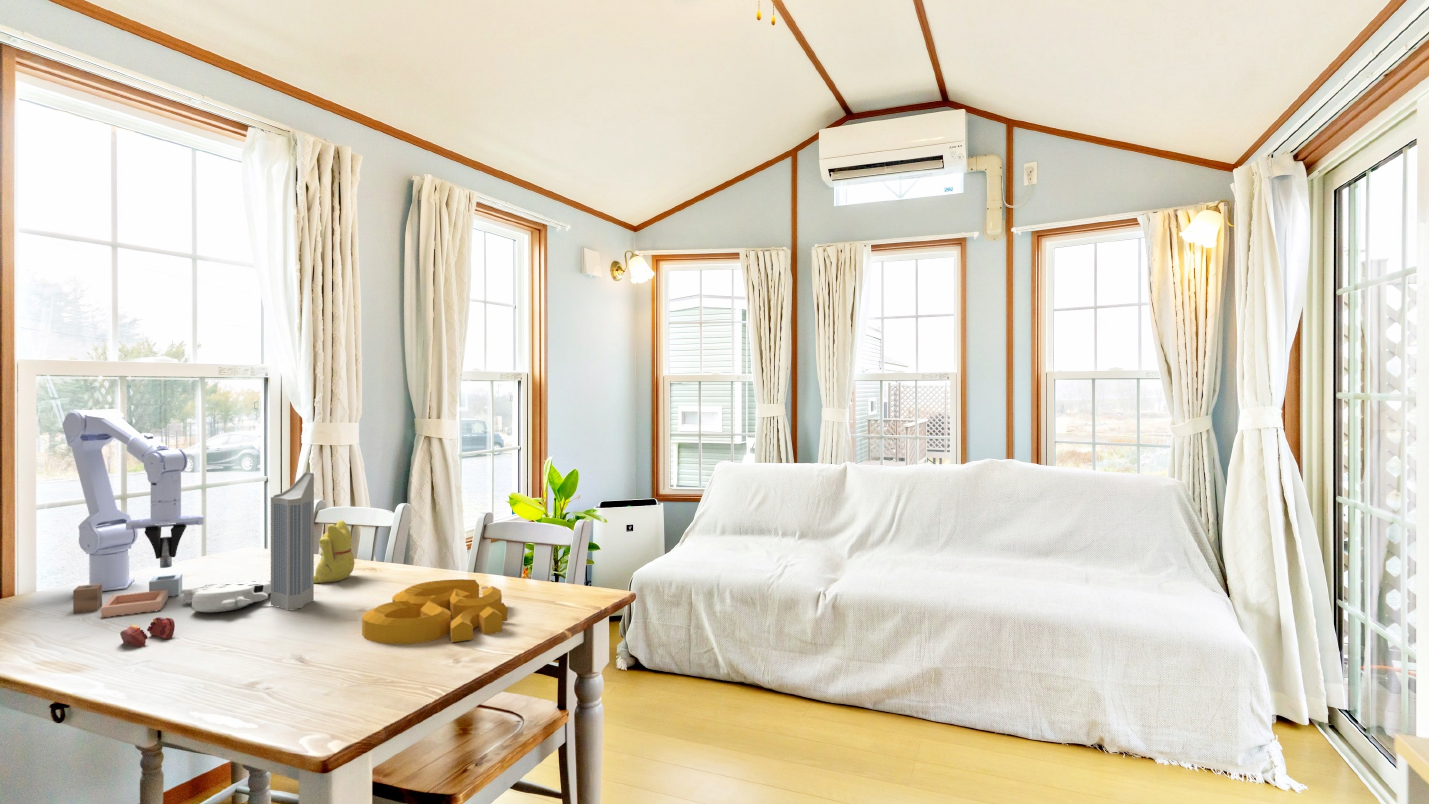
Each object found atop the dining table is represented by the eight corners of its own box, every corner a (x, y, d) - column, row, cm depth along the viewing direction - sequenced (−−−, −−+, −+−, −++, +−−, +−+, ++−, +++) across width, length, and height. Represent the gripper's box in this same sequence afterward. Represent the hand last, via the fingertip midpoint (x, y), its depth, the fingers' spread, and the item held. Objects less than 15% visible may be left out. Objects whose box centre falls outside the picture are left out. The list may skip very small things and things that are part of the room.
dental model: (116, 623, 134) (164, 612, 141) (115, 645, 134) (163, 632, 141) (131, 629, 131) (179, 617, 138) (130, 651, 131) (178, 638, 138)
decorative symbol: (425, 576, 167) (541, 584, 161) (425, 597, 167) (541, 606, 162) (335, 614, 138) (472, 626, 132) (335, 640, 138) (472, 653, 132)
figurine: (327, 574, 185) (327, 518, 184) (360, 574, 185) (361, 518, 185) (304, 586, 174) (304, 526, 173) (340, 586, 174) (340, 526, 174)
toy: (145, 618, 148) (239, 614, 148) (146, 596, 148) (240, 592, 149) (216, 601, 170) (299, 598, 170) (217, 581, 170) (299, 578, 170)
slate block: (153, 592, 167) (153, 576, 166) (182, 589, 169) (182, 573, 169) (149, 599, 162) (149, 582, 162) (178, 595, 165) (178, 579, 164)
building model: (320, 599, 163) (320, 472, 162) (295, 610, 155) (296, 476, 154) (287, 598, 164) (287, 471, 163) (261, 609, 156) (261, 476, 155)
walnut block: (78, 608, 155) (78, 585, 155) (102, 605, 157) (102, 583, 157) (73, 613, 151) (73, 590, 151) (97, 610, 154) (97, 587, 153)
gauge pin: (161, 566, 166) (160, 537, 166) (172, 565, 167) (172, 536, 167) (159, 568, 164) (159, 538, 164) (170, 567, 165) (170, 537, 165)
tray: (112, 605, 157) (112, 595, 157) (168, 598, 162) (168, 589, 162) (101, 617, 148) (101, 607, 148) (160, 610, 154) (160, 600, 154)
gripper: (122, 505, 158) (122, 564, 158) (201, 500, 165) (201, 557, 166) (129, 500, 164) (129, 557, 164) (205, 496, 171) (205, 551, 172)
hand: (166, 557), depth 165 cm, fingers closed on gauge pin, 2 cm apart
